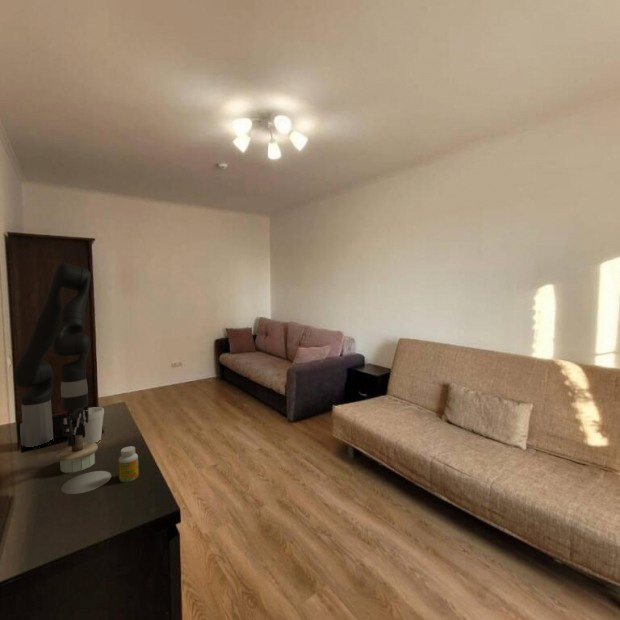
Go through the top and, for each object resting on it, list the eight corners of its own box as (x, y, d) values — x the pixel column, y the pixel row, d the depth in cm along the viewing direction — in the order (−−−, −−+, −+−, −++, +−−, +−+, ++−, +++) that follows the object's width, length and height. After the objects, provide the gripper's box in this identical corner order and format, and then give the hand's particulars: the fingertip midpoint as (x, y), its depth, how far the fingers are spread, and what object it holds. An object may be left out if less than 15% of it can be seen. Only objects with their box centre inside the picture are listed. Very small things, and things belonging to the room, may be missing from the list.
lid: (47, 461, 110) (46, 444, 110) (72, 445, 122) (71, 430, 121) (83, 460, 110) (82, 443, 110) (104, 444, 122) (104, 429, 122)
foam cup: (103, 436, 142) (102, 405, 142) (106, 443, 135) (105, 411, 135) (76, 442, 137) (74, 410, 136) (78, 450, 129) (76, 416, 129)
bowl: (53, 474, 111) (53, 459, 111) (73, 460, 121) (73, 446, 121) (83, 473, 111) (82, 458, 111) (100, 459, 121) (100, 446, 121)
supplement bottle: (119, 485, 104) (117, 454, 103) (119, 477, 109) (118, 447, 108) (138, 480, 106) (137, 450, 106) (138, 472, 111) (137, 443, 111)
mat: (50, 496, 99) (50, 494, 99) (79, 473, 112) (79, 471, 112) (95, 495, 99) (95, 493, 99) (119, 472, 112) (119, 470, 112)
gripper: (76, 398, 109) (79, 449, 109) (95, 387, 123) (98, 432, 123) (50, 400, 107) (53, 452, 108) (72, 388, 121) (75, 434, 122)
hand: (77, 441), depth 116 cm, fingers open, 6 cm apart
